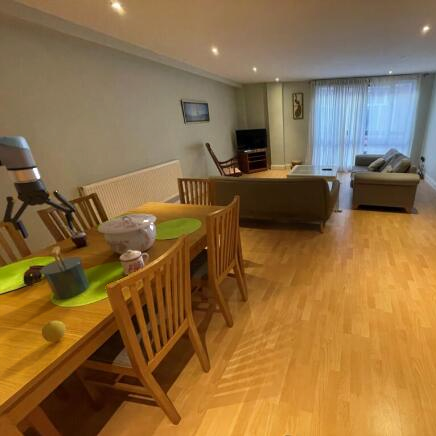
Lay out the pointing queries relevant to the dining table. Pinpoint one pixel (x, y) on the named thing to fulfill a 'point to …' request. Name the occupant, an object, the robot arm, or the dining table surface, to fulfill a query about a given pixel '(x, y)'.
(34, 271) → the pottery mug
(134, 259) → the teacup with lid
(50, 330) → the lemon
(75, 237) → the mate gourd
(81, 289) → the blue cylindrical pot
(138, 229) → the chamber pot
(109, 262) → the dining table surface
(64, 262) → the pot lid
